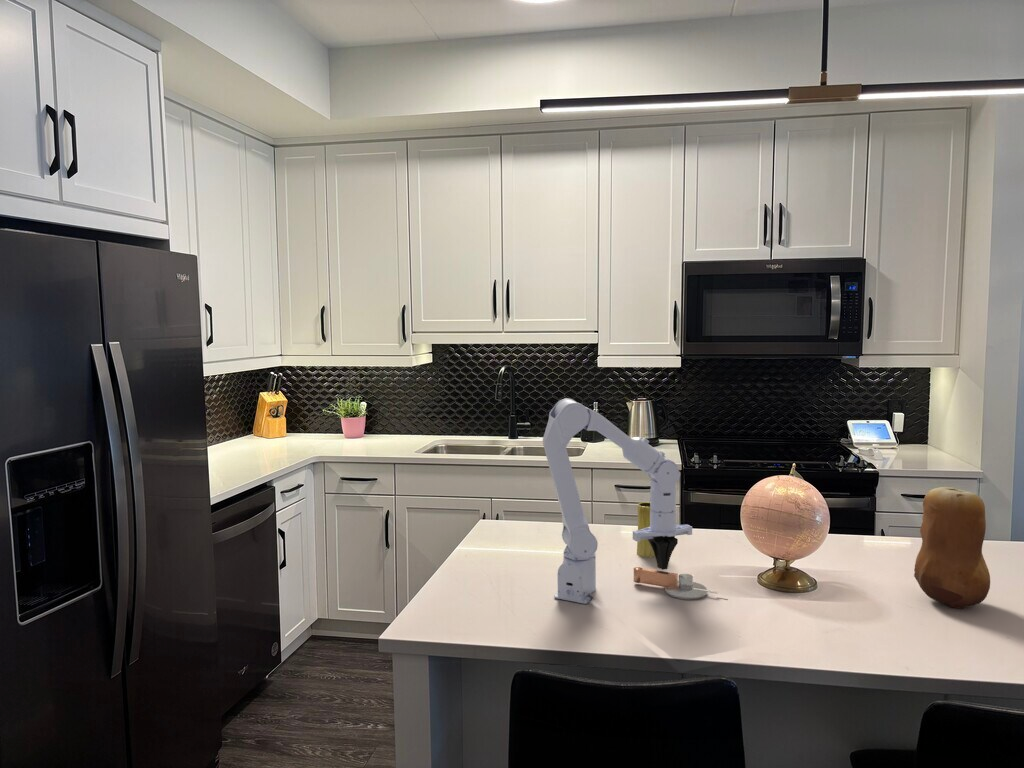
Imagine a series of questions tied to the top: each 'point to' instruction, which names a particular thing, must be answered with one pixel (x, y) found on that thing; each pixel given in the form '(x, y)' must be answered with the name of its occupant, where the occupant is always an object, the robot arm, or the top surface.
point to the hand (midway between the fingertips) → (662, 568)
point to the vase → (643, 522)
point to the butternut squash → (953, 548)
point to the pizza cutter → (672, 583)
